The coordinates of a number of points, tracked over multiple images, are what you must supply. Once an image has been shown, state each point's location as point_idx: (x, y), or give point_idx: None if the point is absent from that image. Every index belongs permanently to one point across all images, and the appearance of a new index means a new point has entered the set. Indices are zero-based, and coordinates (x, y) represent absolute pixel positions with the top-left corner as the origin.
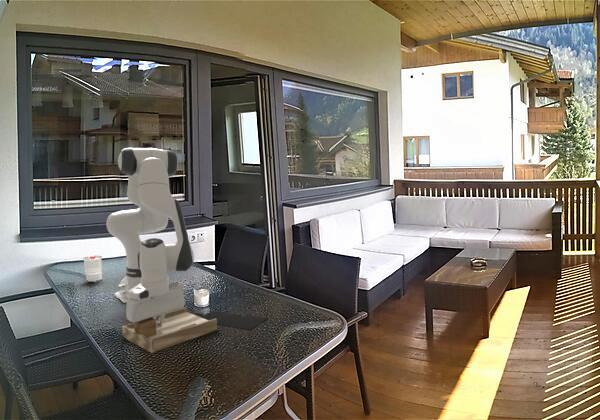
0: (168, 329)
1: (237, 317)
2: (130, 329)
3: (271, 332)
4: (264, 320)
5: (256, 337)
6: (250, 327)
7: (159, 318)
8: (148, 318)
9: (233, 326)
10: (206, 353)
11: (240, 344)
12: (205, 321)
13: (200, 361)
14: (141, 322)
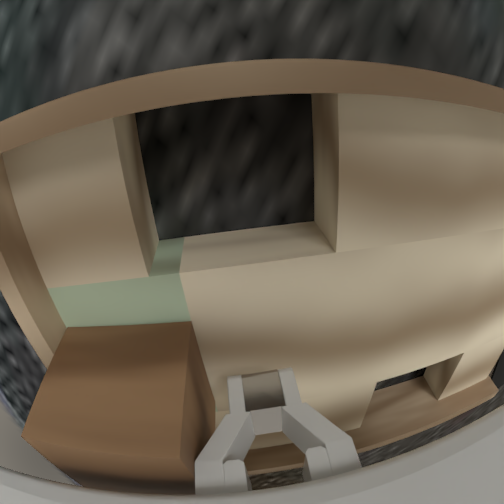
0: (323, 370)
1: None
2: (15, 302)
3: (478, 418)
4: None
5: (445, 433)
6: (498, 385)
7: (302, 431)
8: (169, 484)
9: (501, 360)
10: (301, 473)
11: (394, 455)
12: (493, 351)
13: (258, 489)
14: (96, 485)
